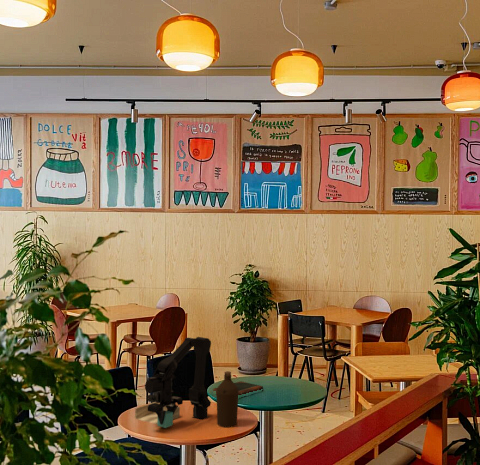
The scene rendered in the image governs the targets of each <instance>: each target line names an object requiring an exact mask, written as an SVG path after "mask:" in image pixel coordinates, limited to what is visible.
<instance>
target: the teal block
mask: <svg viewBox="0 0 480 465" xmlns="http://www.w3.org/2000/svg"><path fill="white" fill-rule="evenodd" d="M173 422H174V420H173V412H170V411H166V412H165V417H164V421H163V424H162V425H161V424H160V422H159V419H157V424H156V426H157V427H161V428H164V429H167V428H169V427H172V426H174V425H173Z"/></svg>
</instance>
